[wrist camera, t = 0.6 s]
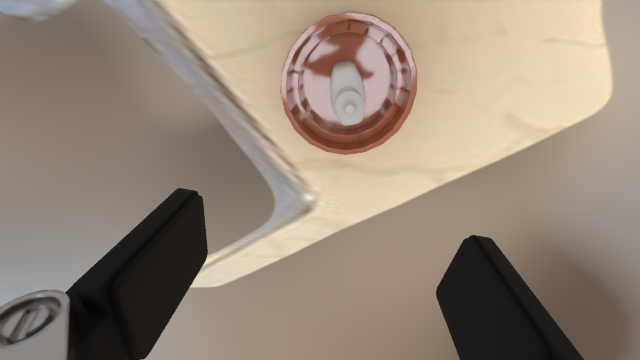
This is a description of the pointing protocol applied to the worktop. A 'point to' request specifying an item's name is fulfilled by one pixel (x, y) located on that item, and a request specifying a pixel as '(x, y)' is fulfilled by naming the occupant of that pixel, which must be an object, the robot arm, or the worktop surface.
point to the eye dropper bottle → (347, 93)
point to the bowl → (374, 68)
